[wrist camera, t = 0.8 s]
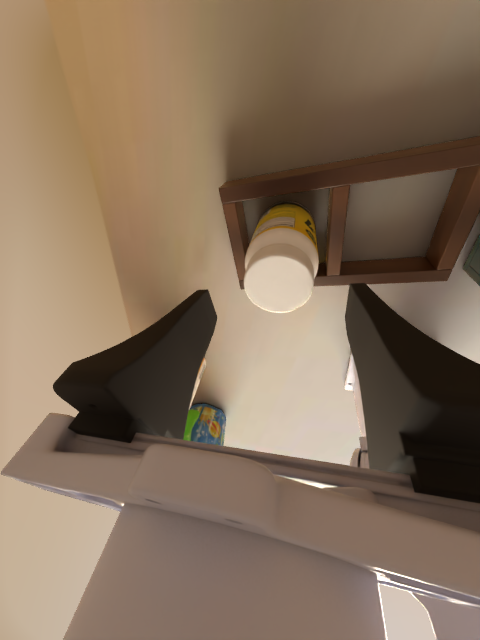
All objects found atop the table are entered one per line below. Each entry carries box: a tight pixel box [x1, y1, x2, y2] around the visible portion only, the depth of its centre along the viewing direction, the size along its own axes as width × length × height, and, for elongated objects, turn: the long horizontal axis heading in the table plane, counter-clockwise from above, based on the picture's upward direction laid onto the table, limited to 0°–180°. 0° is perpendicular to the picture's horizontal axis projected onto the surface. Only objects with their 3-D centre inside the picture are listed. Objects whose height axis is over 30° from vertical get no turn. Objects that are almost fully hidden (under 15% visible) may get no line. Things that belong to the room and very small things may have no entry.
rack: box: [219, 136, 480, 289], centre depth 17 cm, size 8×16×2 cm, turn 100°
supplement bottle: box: [244, 201, 319, 313], centre depth 16 cm, size 5×5×8 cm
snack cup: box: [183, 403, 226, 446], centre depth 43 cm, size 16×11×10 cm
